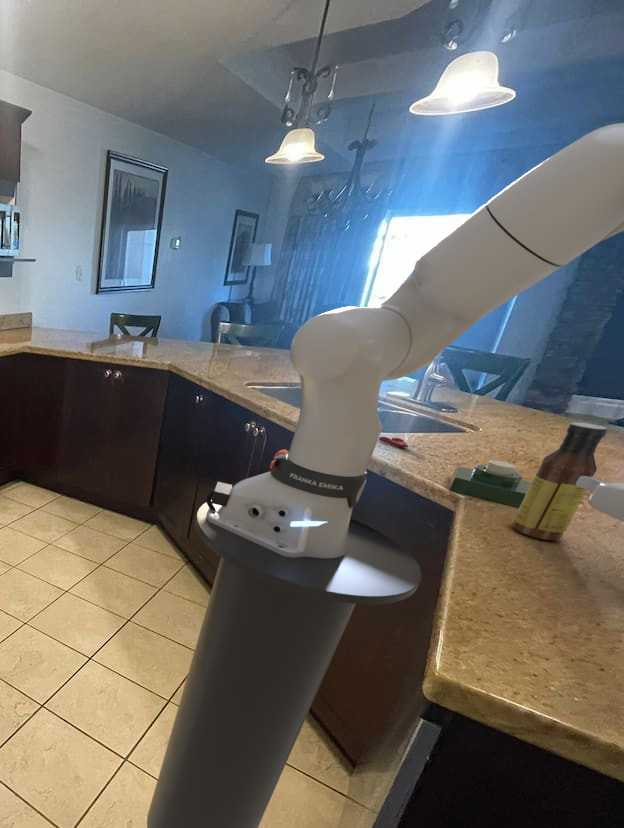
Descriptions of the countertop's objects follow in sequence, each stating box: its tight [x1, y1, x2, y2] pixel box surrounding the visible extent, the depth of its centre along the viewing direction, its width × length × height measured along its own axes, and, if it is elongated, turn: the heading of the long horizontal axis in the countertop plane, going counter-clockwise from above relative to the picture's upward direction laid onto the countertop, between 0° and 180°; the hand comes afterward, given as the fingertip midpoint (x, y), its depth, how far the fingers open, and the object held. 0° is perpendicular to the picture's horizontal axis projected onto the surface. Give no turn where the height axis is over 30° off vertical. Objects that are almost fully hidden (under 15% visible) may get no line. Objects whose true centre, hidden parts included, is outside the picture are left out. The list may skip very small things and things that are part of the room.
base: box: [448, 464, 532, 509], centre depth 102 cm, size 12×10×5 cm
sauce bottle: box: [512, 422, 608, 542], centre depth 83 cm, size 6×6×20 cm
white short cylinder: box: [485, 459, 517, 476], centre depth 100 cm, size 4×4×2 cm
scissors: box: [378, 436, 424, 457], centre depth 127 cm, size 5×14×1 cm, turn 173°
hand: (607, 480), depth 77 cm, fingers open, 8 cm apart
